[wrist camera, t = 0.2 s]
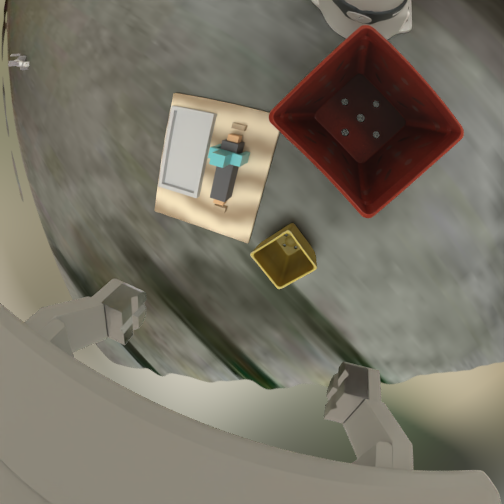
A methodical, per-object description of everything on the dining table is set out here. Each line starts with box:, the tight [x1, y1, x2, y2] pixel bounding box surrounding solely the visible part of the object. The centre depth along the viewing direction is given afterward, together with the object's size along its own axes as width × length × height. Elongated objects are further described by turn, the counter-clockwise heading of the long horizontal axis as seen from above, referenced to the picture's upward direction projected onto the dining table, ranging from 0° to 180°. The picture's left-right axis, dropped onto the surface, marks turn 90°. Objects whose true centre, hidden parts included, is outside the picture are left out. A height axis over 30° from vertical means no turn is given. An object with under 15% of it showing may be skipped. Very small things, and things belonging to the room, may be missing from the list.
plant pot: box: [269, 25, 464, 218], centre depth 40 cm, size 19×19×17 cm
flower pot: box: [250, 223, 317, 289], centre depth 57 cm, size 9×9×9 cm
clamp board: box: [155, 93, 280, 243], centre depth 57 cm, size 26×22×3 cm
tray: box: [158, 106, 217, 198], centre depth 56 cm, size 17×9×2 cm, turn 166°
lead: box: [210, 133, 245, 206], centre depth 54 cm, size 13×3×4 cm, turn 166°
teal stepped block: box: [208, 144, 250, 168], centre depth 50 cm, size 2×6×8 cm, turn 76°
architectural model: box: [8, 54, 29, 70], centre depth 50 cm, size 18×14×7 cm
